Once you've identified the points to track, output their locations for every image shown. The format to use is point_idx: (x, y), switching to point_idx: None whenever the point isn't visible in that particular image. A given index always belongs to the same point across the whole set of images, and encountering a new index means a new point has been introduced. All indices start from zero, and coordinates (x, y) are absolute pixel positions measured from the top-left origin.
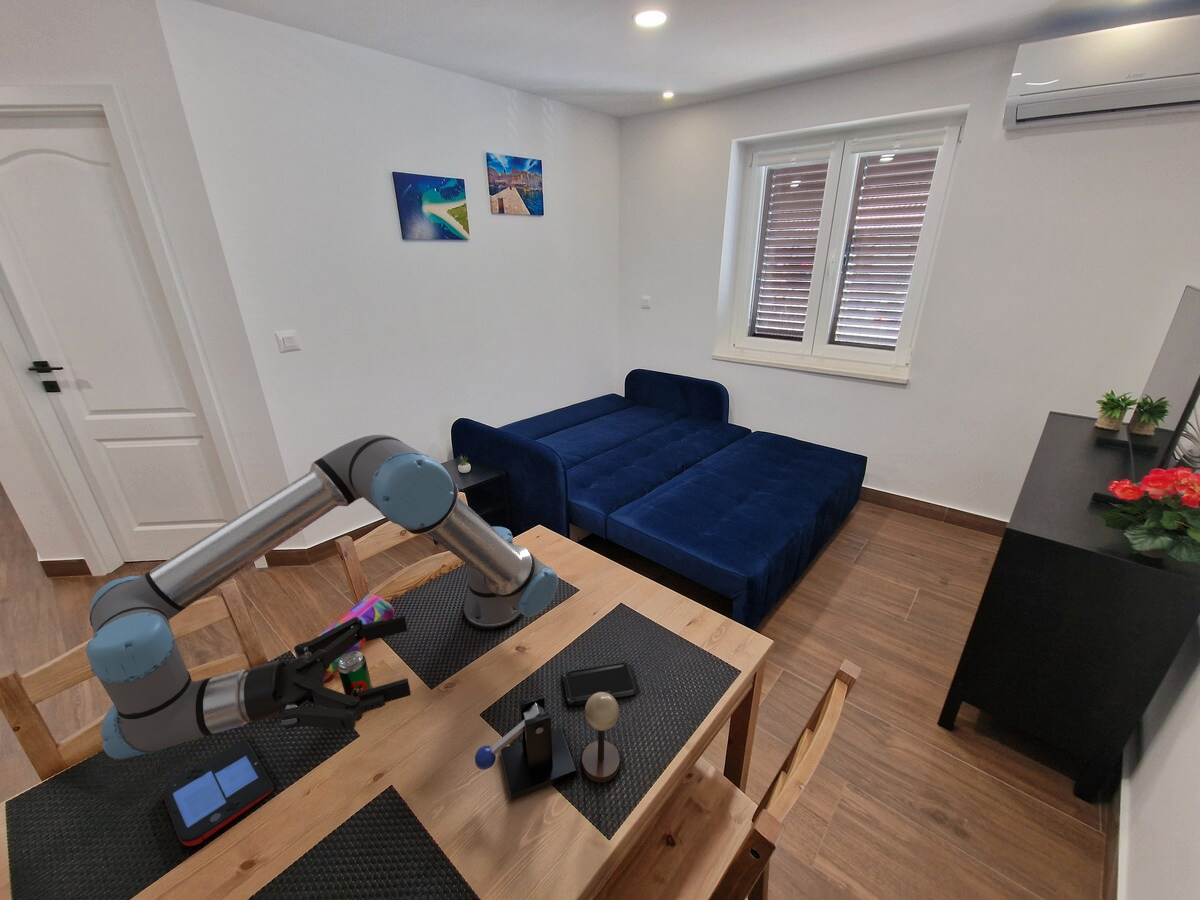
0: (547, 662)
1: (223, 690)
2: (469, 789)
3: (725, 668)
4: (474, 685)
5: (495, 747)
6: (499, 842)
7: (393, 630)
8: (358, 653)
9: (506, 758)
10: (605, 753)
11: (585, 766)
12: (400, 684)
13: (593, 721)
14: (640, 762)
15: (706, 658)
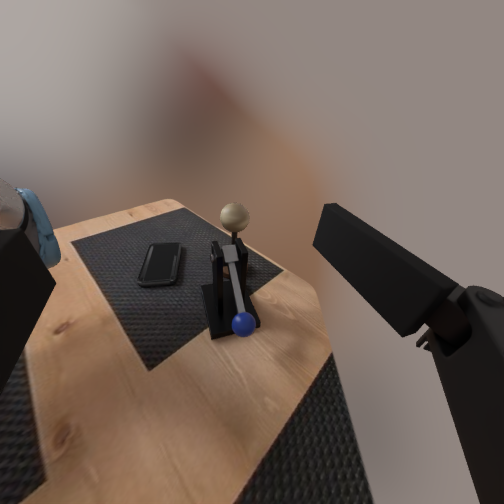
0: (108, 300)
1: None
2: (247, 368)
3: (179, 211)
4: (90, 387)
5: (241, 306)
6: (294, 334)
7: (22, 307)
8: None
9: (223, 328)
10: None
11: None
12: (347, 211)
13: (247, 218)
14: None
15: (167, 215)
